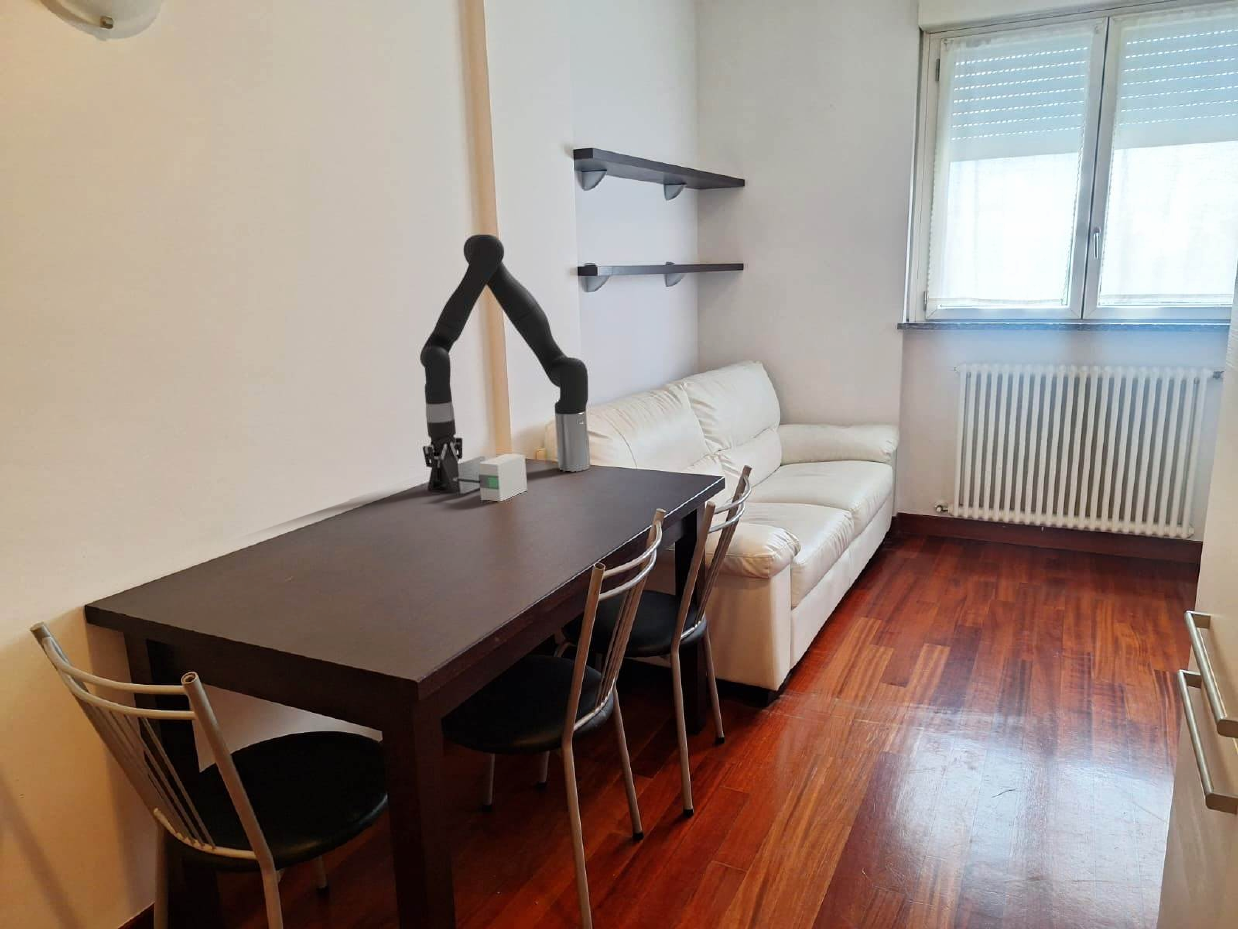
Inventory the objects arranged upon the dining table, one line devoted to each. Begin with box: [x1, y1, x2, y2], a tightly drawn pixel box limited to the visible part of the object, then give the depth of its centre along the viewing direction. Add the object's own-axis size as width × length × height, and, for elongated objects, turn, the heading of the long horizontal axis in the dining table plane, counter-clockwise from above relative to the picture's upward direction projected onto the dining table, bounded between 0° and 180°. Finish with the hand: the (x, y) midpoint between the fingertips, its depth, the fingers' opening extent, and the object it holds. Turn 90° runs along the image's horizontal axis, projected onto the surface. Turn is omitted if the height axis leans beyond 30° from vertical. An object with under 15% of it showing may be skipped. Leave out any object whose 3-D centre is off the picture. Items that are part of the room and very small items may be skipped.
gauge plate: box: [453, 455, 486, 494], centre depth 226 cm, size 12×8×8 cm
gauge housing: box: [478, 453, 528, 502], centre depth 223 cm, size 12×6×10 cm, turn 151°
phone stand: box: [427, 448, 460, 494], centre depth 233 cm, size 9×6×12 cm, turn 62°
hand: (446, 478), depth 234 cm, fingers closed on phone stand, 6 cm apart
